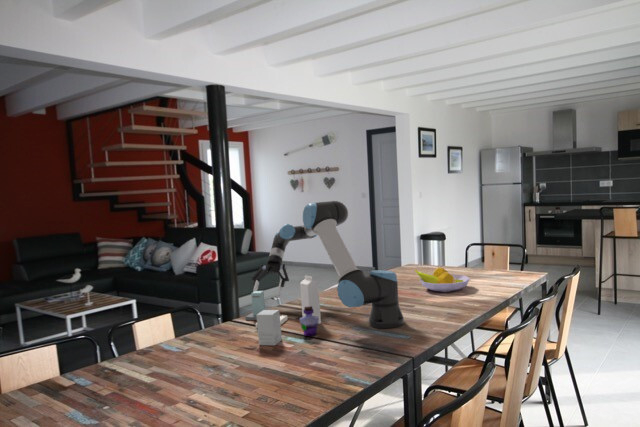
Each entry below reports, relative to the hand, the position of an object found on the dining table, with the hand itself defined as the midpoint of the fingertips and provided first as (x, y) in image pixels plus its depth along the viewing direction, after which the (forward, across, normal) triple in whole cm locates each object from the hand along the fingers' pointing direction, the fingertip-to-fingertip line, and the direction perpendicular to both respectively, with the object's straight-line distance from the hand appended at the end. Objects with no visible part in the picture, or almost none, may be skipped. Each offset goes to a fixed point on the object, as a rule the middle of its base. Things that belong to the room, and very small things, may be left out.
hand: (266, 292), depth 244 cm
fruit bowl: (-27, -84, -41) cm, 98 cm away
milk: (+21, -30, +7) cm, 38 cm away
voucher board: (+22, -11, +8) cm, 25 cm away
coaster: (+14, 0, 0) cm, 14 cm away
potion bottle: (+32, -34, +17) cm, 50 cm away
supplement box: (+40, -21, +25) cm, 51 cm away
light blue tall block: (+13, 0, +2) cm, 13 cm away
